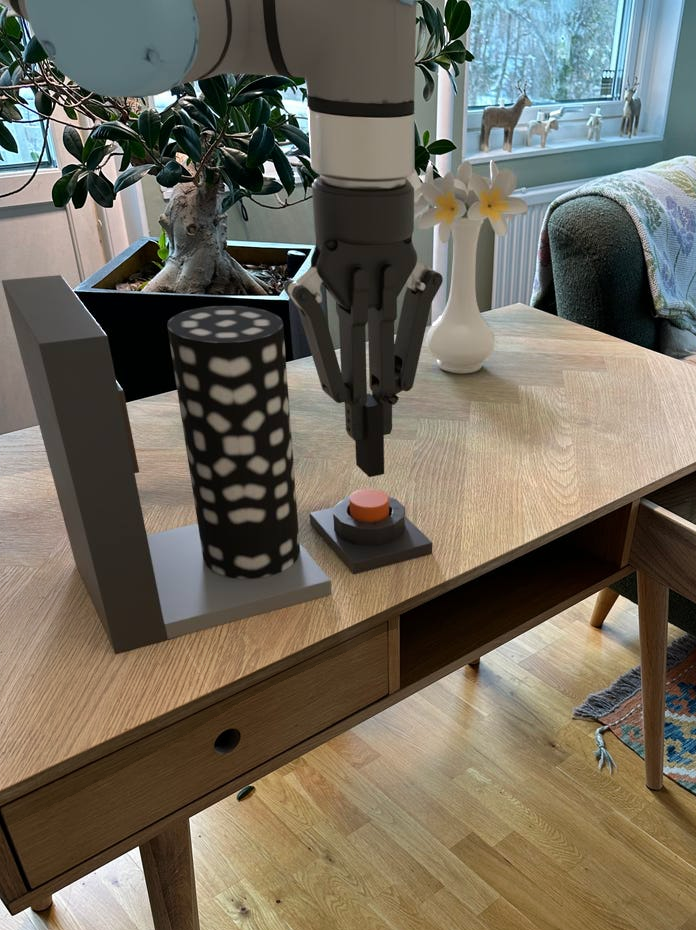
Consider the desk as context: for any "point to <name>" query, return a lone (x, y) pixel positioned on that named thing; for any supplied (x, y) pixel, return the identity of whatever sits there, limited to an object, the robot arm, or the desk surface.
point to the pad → (370, 537)
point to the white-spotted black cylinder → (237, 437)
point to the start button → (369, 505)
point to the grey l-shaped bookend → (123, 488)
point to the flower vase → (464, 254)
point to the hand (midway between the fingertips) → (370, 469)
